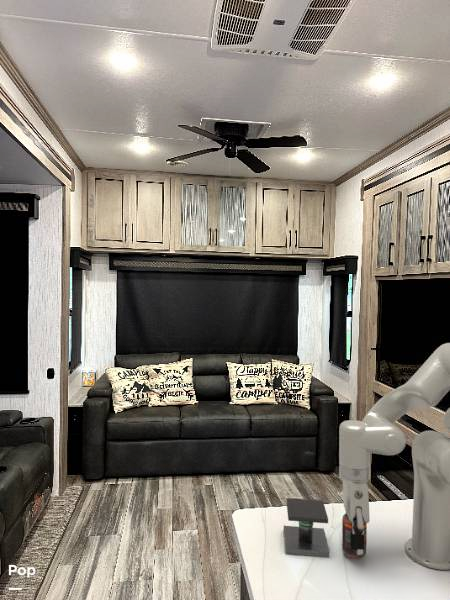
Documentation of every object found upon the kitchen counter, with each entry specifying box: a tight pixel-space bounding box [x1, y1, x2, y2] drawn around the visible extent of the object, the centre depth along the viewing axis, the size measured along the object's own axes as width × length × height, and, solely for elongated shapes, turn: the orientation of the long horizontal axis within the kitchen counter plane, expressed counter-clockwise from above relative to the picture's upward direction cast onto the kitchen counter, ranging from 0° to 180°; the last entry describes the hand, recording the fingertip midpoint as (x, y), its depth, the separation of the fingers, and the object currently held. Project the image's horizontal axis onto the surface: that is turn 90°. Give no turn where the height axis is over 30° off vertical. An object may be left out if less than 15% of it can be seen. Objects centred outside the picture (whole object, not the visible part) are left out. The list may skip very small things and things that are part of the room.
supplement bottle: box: [341, 512, 368, 559], centre depth 112 cm, size 6×6×11 cm
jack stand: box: [283, 498, 331, 559], centre depth 117 cm, size 11×11×10 cm
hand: (354, 540), depth 112 cm, fingers closed on supplement bottle, 6 cm apart
